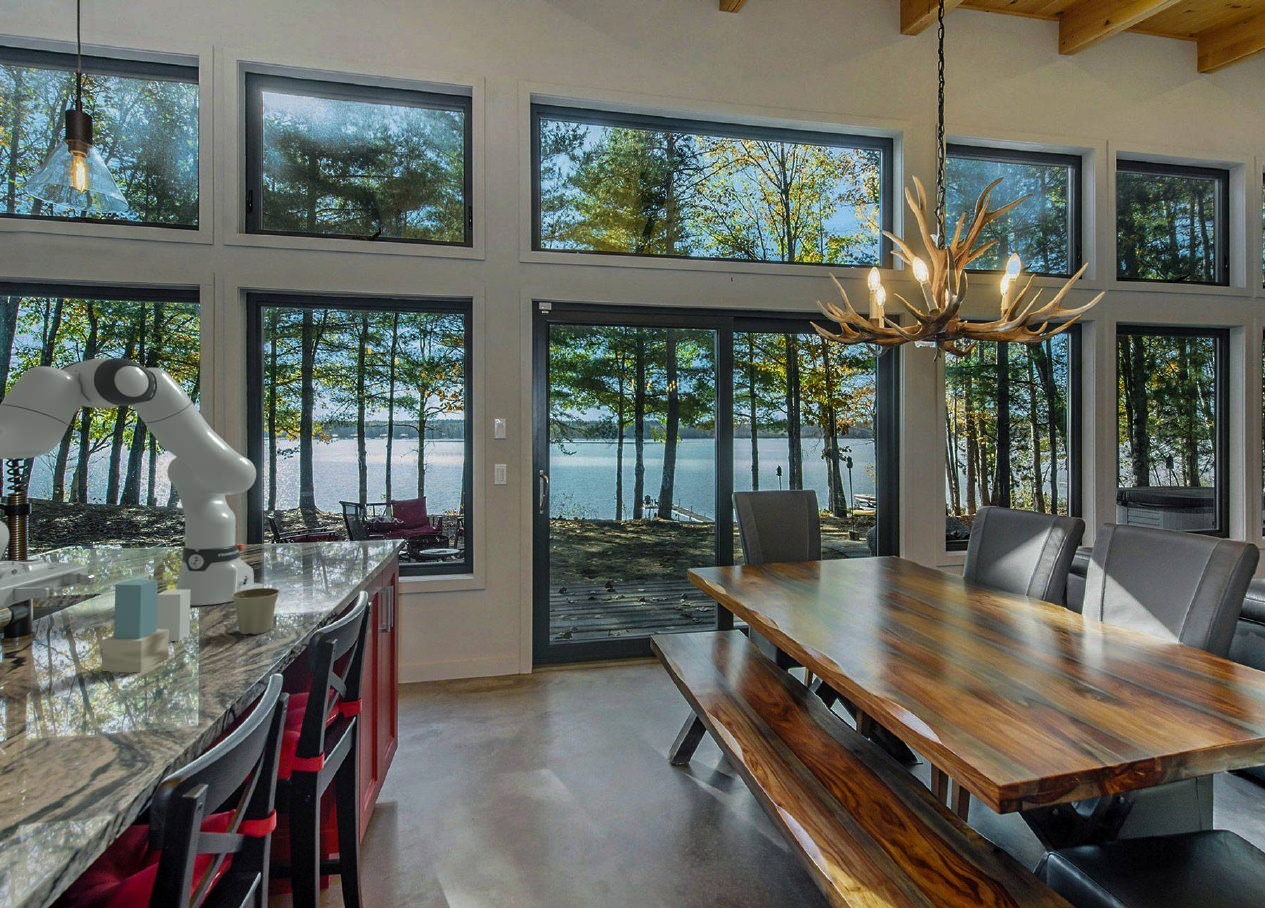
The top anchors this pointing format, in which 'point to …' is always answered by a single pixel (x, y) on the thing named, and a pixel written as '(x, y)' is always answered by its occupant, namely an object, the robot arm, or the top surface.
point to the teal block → (135, 608)
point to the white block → (174, 613)
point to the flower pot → (255, 609)
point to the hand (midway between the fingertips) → (72, 585)
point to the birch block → (135, 652)
